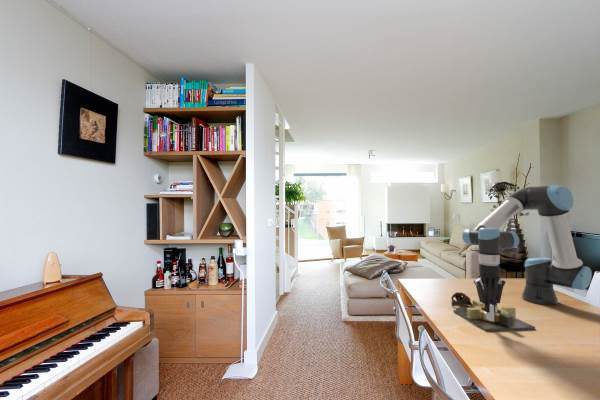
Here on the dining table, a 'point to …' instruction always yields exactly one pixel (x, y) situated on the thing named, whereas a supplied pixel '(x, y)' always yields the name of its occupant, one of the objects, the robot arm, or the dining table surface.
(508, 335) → the dining table surface
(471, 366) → the dining table surface
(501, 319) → the ring nut
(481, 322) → the flange plate
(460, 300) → the pottery mug
